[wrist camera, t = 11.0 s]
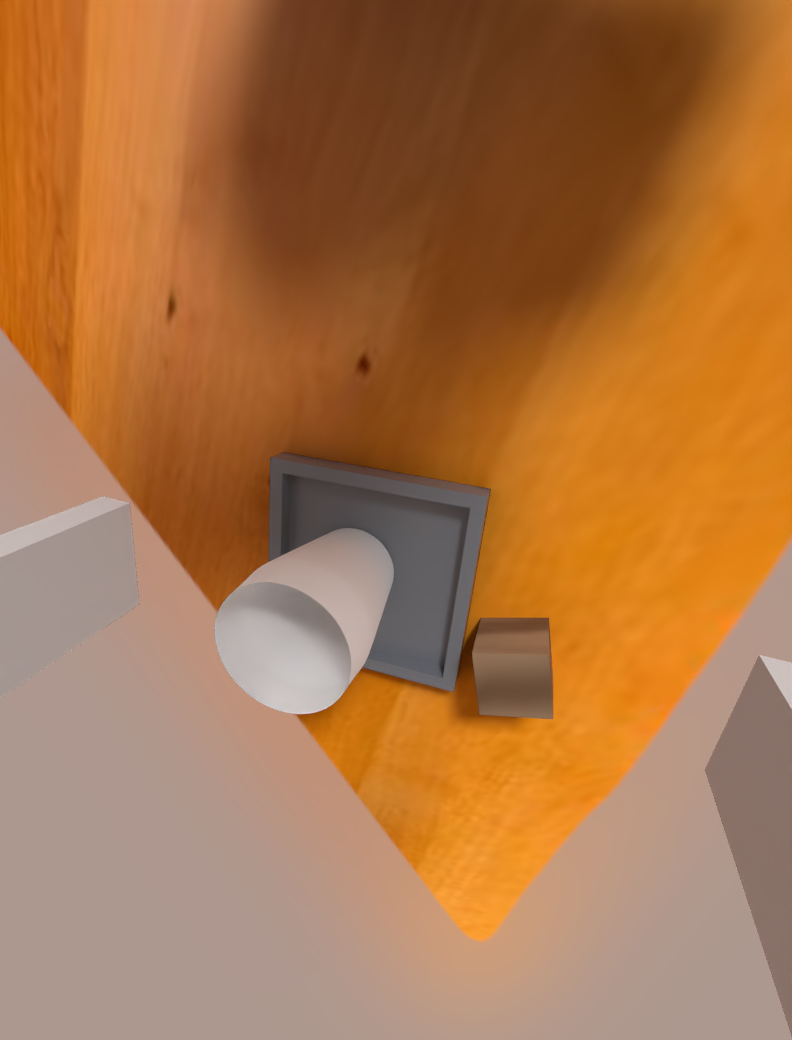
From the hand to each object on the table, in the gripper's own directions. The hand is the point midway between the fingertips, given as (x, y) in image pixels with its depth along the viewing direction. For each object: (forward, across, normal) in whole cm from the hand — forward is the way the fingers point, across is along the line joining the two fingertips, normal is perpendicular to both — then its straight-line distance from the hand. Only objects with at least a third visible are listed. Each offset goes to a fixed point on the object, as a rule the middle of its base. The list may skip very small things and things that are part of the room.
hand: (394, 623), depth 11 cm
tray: (+26, -8, -13) cm, 30 cm away
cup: (+25, -9, -13) cm, 30 cm away
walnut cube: (+26, +4, -17) cm, 31 cm away
